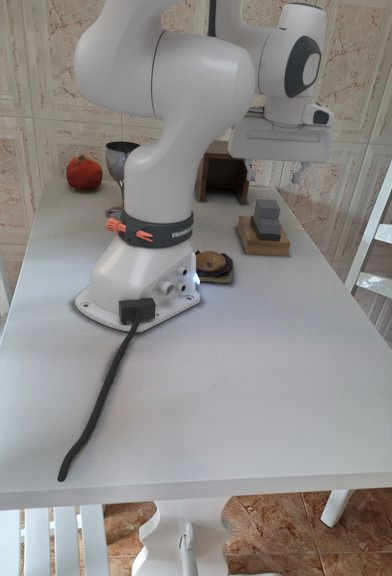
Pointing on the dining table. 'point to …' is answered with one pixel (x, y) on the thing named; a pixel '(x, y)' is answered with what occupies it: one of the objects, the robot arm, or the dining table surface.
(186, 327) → the dining table surface
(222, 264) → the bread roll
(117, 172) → the wine glass
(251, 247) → the brown wooden block
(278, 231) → the grey notched block
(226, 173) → the open box
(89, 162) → the red pomegranate
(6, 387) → the dining table surface
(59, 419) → the dining table surface
